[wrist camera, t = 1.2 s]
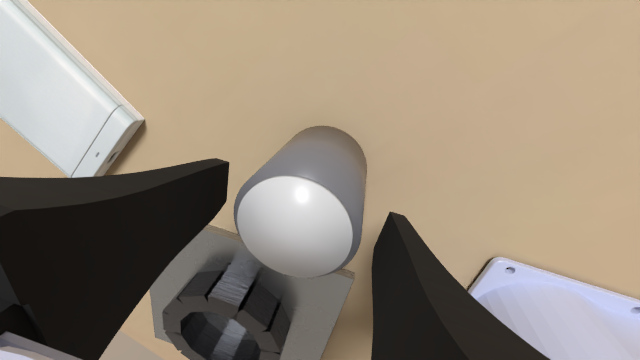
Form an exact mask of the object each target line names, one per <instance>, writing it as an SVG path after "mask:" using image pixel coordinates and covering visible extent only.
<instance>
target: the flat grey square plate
mask: <svg viewBox="0 0 640 360" xmlns="http://www.w3.org/2000/svg"><path fill="white" fill-rule="evenodd" d="M353 281H354V273H353V272H350V271H347V270H344V269H340V270H338V271H336V272H334V273H331V274H329V275H325V276H320V277H294V276H289V275H286V274H282V273H280V272H277V271H275V270H273V269H271V268H269V267H268V266H266V265H264V264H263V263H262V262H260V261H259V260H258V259H257V258H256V257H255V256H254V255H253V254H252V253H251V252H250V251H249V249H248V248H247V247H246V246H245V244H244V243H243V241H242V240H241V238H240V236H239V235H238V234H235V233H231V232H228V231H225V230H222V229H219V228H216V227H213V226H210V225H207V226H206V227H205V228H204V229H203V230H202V231H201V232H200V233H199V234H198V235H197V236H196V237H195V238H194V239H193V240H192V241H191V242H190V243H189V244H188V245H187V246H186V247H185V248H184V249H183V250H182V251H181V252H180V253H179V254H178V255H177V256H176V257H175V258H174V259H173V260H172V261H171V262H170V264H169V265H168V266H167V267H166V268H165V270H164V271H163V272H162V273H161V275H160V276H159V277H158V278H157V280H156V281H155V282H154V283H153V285H152V286H151V287H150V296H151V305H152V314H153V323H154V332H155V337H156V338H158V339H161V340H164V341H167V342H169V343H172V344H174V346H175V347H176V349H177V350H182V351H181V354H183V355H184V356H186V357H187V358H188V359H190V360H320V358H321V356H322V354H323V351H324V349H325V347H326V344H327V342H328V339H329V337H330V335H331V332H332V330H333V328H334V325H335V323H336V321H337V318H338V316H339V314H340V311H341V309H342V306H343V304H344V302H345V299H346V297H347V295H348V292H349V290H350V288H351V285H352V283H353Z"/></svg>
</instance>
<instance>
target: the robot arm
mask: <svg viewBox="0 0 640 360" xmlns="http://www.w3.org/2000/svg"><path fill="white" fill-rule="evenodd" d="M228 173H229V162H227V161H223V160H220V159H217V158H215V159H207V160H201V161H196V162H191V163H186V164H181V165H177V166H172V167H166V168H161V169H155V170H149V171H143V172H137V173H129V174H120V175H110V176H95V177H75V178H14V177H0V360H99V358H100V357H101V355H102V354H103V352H104V351H105V349H106V348H107V346H108V345H109V343H110V342H111V340H112V339H113V338H114V336H115V334H116V333H117V332H118V330H119V329H120V328H121V326H122V325H123V323H124V322H125V321H126V319H127V318H128V316H129V315H130V314H131V312H132V311H133V310H134V308H135V307H136V305H137V304H138V303H139V301H140V300H141V299H142V298H143V296H144V295H145V294H146V292H147V291H148V290H149V288H150V287H151V286H152V285H153V283H154V282H155V281H156V280H157V278H158V277H159V276H160V275H161V273H162V272H163V271H164V270H165V268H166V267H167V266H168V265H169V264H170V262H171V261H172V260H173V259H174V258H175V257H176V256H177V255H178V254H179V253H180V252H181V251H182V250H183V249H184V248H185V247H186V246H187V245H188V244H189V243H190V242H191V241H192V240H193V239H194V238H195V237H196V236H197V235H198V234H199V233H200V232H201V231H202V230H203V229H204V228H205V227H206V226H207V225H208V224H209V223H210V222H211V221H212V219H213V218H214V217H215V216H216V215H217V213H218V212H219V211H220V209H221V208H222V207H223V205H224V204H225V202H226V200H227V186H228ZM508 267H511V268H510V269H506V268H508ZM372 295H373V342H372V356H371V360H640V300H638V299H635V298H632V297H629V296H625V295H622V294H619V293H616V292H613V291H609V290H606V289H603V288H600V287H596V286H593V285H590V284H587V283H584V282H580V281H577V280H574V279H571V278H568V277H564V276H561V275H558V274H555V273H552V272H548V271H545V270H542V269H539V268H536V267H532V266H529V265H526V264H523V263H520V262H516V261H513V260H510V259H507V258H503V257H496V258H494V259H492V260H491V261H490V262H489V263H488V265H487V266H486V267H485V269H484V270H483V272H482V273H481V274H480V276H479V277H478V278H477V280H476V281H475V282H474V284H473V285H472V286H471V288H470V289H469V290H468V292H467V291H466V290H465V288H464V287H463V286H462V285H461V284H460V283H459V282H458V281H457V280H456V279H455V278H454V277H453V276H452V275H451V274H450V273H449V272H448V271H447V270H446V268H445V267H444V266H443V265H442V264H441V263H440V261H439V260H438V259H437V258H436V257H435V255H434V254H433V253H432V252H431V250H430V249H429V248H428V247H427V245H426V244H425V243H424V241H423V240H422V239H421V237H420V236H419V235H418V233H417V232H416V230H415V229H414V228H413V226H412V225H411V224H410V222H409V221H408V220H407V218H406V217H405V216H403V215H400V214H397V213H393V212H390V213H389V215H388V217H387V219H386V222H385V224H384V226H383V228H382V231H381V233H380V235H379V238H378V240H377V242H376V244H375V247H374V252H373V261H372Z"/></svg>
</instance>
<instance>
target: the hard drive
mask: <svg viewBox="0 0 640 360" xmlns="http://www.w3.org/2000/svg"><path fill="white" fill-rule="evenodd" d="M0 118H1V119H2V120H4V121H5V122H6V123H7V124H8V125H9V126H11V127H12V128H13V129H14V130H15V131H16V132H17V133H18V134H20V135H21V136H22V137H23V138H24V139H25V140H27V141H28V142H29V143H30V144H31V145H32V146H33V147H35V148H36V149H37V150H38V151H39V152H40V153H41V154H42V155H44V156H45V157H46V158H47V159H48V160H49V161H51V162H52V163H53V164H54V165H55V166H56V167H58V168H59V169H60V170H61V171H62V172H63V173H64V174H66V175H67V176H68V177H69V178H75V177H95V176H104V174H105V173H106V172H107V170H108V169H109V167H110V166H111V165H112V163H113V162H114V161H115V159H116V158H117V157H118V155H119V154H120V153H121V151H122V150H123V148H124V147H125V146H126V144H127V143H128V142H129V140H130V139H131V137H132V136H133V135H134V133H135V132H136V131H137V129H138V128H139V127H140V125H141V124H142V123H143V121H144V120H145V119H144V118H143V116H142V115H141V114H140V113H139V112H138V111H137V110H136V109H135V108H134V107H133V106H132V105H131V104H130V103H129V102H128V101H127V100H126V99H125V98H124V97H123V96H122V95H121V94H120V93H119V92H118V91H117V90H116V89H115V88H114V87H113V86H112V85H111V84H110V83H109V82H108V81H107V80H106V79H105V78H104V77H103V76H102V75H101V74H100V73H99V72H98V71H97V70H96V69H95V68H94V67H93V66H92V65H91V64H90V63H89V62H88V61H87V60H86V59H85V58H84V57H83V56H82V55H81V54H80V53H79V52H78V51H77V50H76V49H75V48H74V47H73V46H72V45H71V44H70V43H69V42H68V41H67V40H66V39H65V38H64V37H63V36H62V35H61V34H60V33H59V32H58V31H57V30H56V29H55V28H54V27H53V26H52V25H51V24H50V23H49V22H48V21H47V20H46V19H45V18H44V17H43V16H42V15H41V14H40V13H39V12H38V11H37V10H36V9H35V8H34V7H33V6H32V5H31V4H30V3H29V2H28V1H27V0H0Z"/></svg>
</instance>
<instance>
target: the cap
mask: <svg viewBox="0 0 640 360" xmlns="http://www.w3.org/2000/svg"><path fill="white" fill-rule="evenodd" d="M366 174H367V164H366V158H365V155H364V153H363V151H362V149H361V147H360V146H359V144H358V143H357V142H356V141H355V140H354V139H353V138H352V137H351V136H350V135H348V134H347V133H346V132H344V131H342V130H340V129H337V128H334V127H329V126H315V127H310V128H307V129H305V130H303V131H301V132H299V133H298V134H296V135H295V136H294V137H293V138H292V139H291V140H290V141H289V142H288V143H287V144H286V145H285V146H284V147H283V148H282V149H280V150H279V151H278V152H277V153H276V154H275V155H274V156H273V157H272V158H271V159H270V160H269V161H268V162H267V163H266V164H265V165H264V166H262V167H261V168H260V169H259V170H258V171H257V172H256V173H255V174H254V175H253V176H252V177H251V178H250V179H249V180H248V181H247V182H246V183H245V184H244V185H243V186H242V187H241V189H240V191H239V192H238V194H237V197H236V200H235V204H234V221H235V225H236V229H237V231H238V234H239V236H240V238H241V240H242V241H243V243H244V244H245V246H246V247H247V248H248V249H249V251H250V252H251V253H252V254H253V255H254V256H255V257H256V258H257V259H258V260H259V261H260V262H262V263H263V264H264V265H266V266H268V267H269V268H271V269H273V270H275V271H277V272H280V273H282V274H286V275H289V276H294V277H320V276H325V275H329V274H331V273H334V272H336V271H338V270H340V269H341V268H343V267H344V266H345V265H347V264H348V263H349V262H350V261H351V260H352V258H353V257H354V255H355V254H356V252H357V250H358V248H359V245H360V241H361V233H362V221H363V210H364V198H365V186H366Z"/></svg>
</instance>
